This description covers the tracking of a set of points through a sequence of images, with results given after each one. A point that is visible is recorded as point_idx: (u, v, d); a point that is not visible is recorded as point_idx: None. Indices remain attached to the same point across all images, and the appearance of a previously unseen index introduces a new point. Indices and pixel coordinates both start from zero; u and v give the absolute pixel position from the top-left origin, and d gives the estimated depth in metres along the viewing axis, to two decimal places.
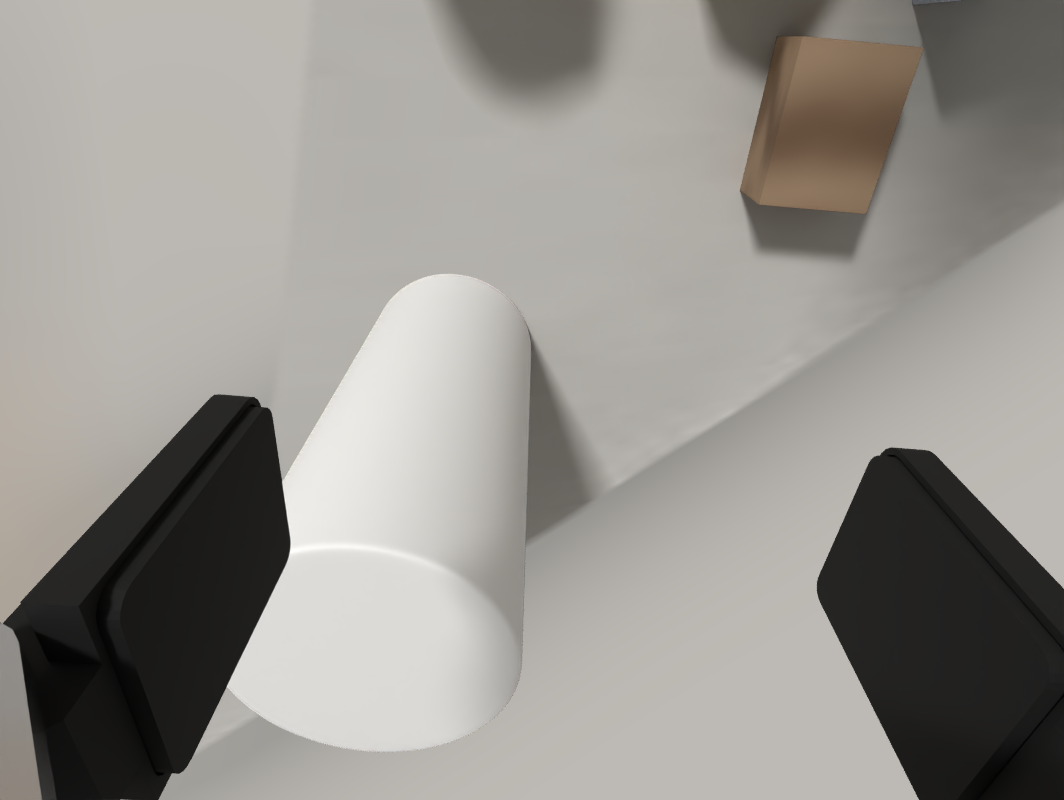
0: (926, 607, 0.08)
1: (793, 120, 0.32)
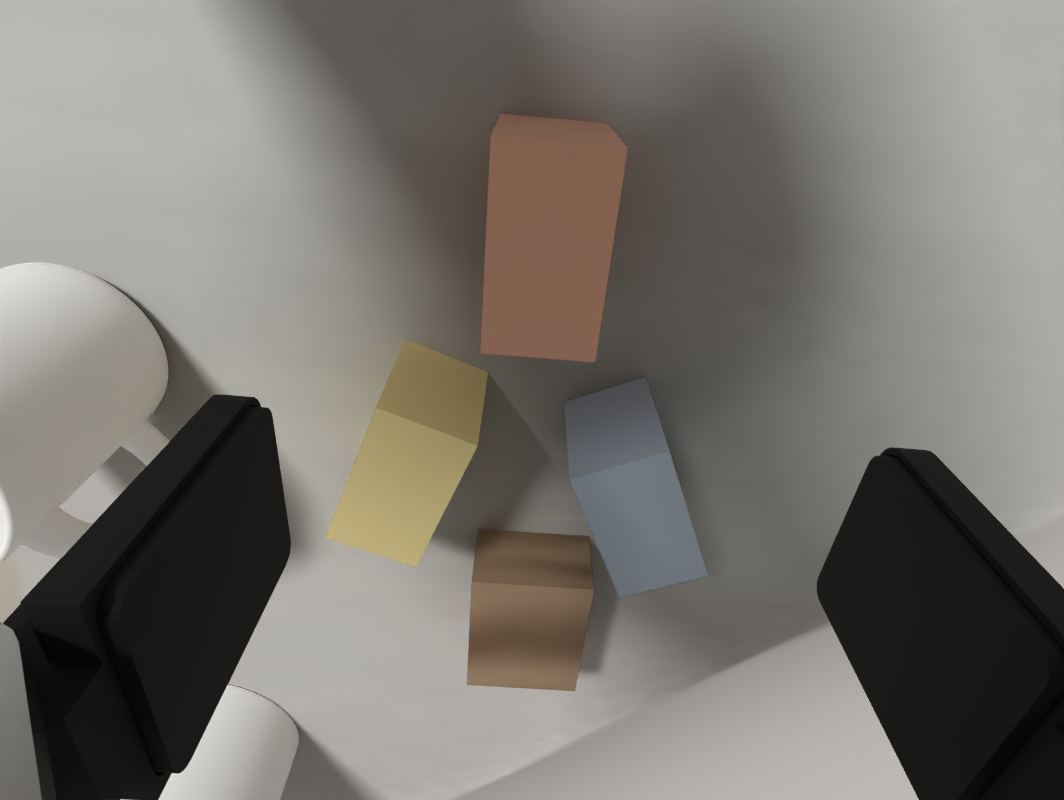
0: (926, 607, 0.08)
1: (481, 633, 0.32)
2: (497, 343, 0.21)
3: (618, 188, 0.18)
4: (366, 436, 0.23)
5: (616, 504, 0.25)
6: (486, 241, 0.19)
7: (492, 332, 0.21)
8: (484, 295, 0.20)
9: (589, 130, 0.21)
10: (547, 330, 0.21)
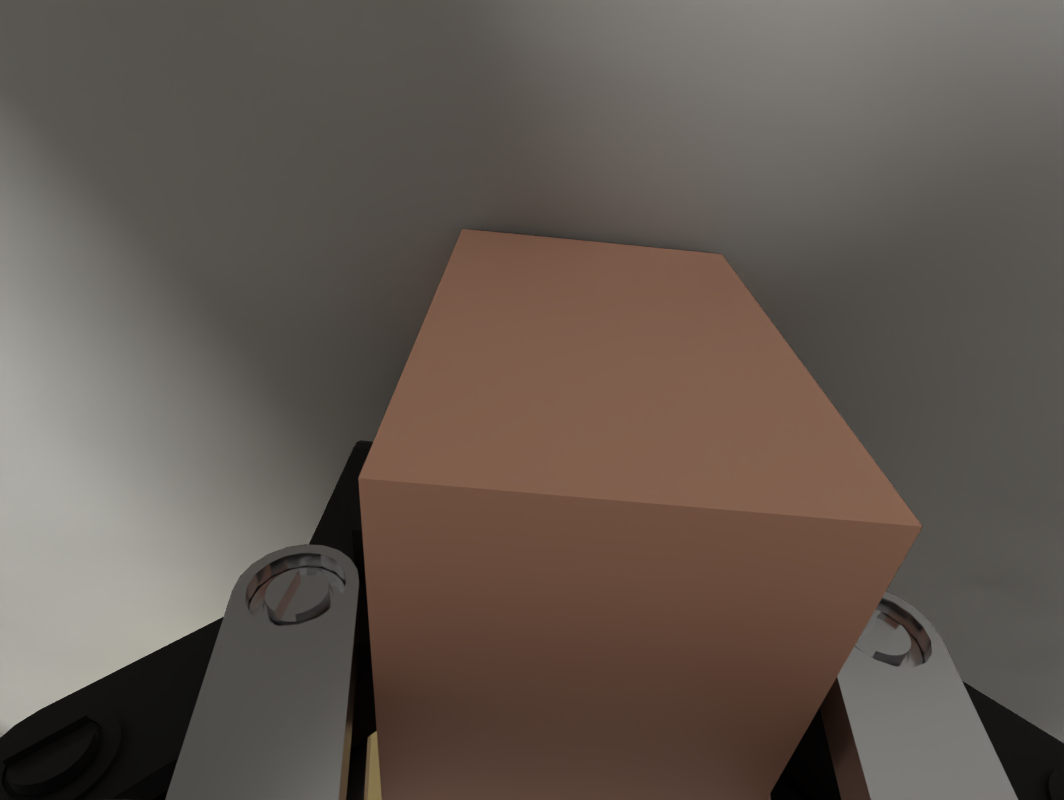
0: None
1: None
2: None
3: (850, 629, 0.05)
4: None
5: None
6: (379, 730, 0.06)
7: None
8: None
9: (701, 322, 0.07)
10: None
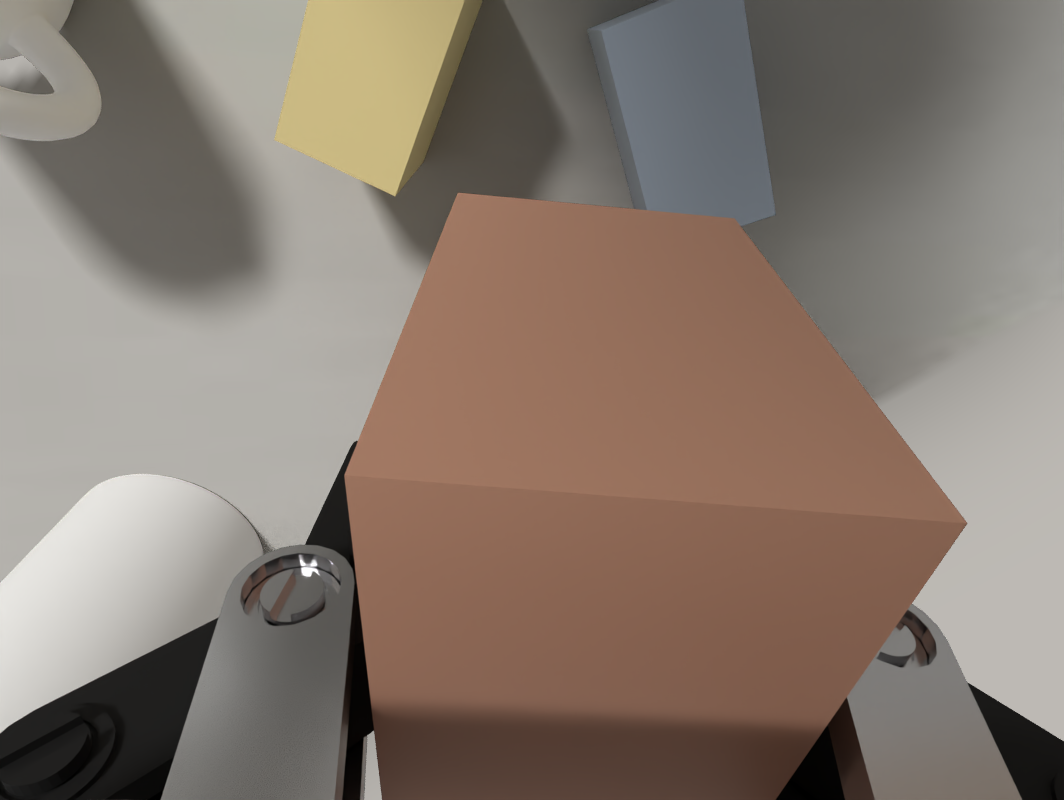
0: None
1: None
2: None
3: (879, 629, 0.05)
4: None
5: (662, 79, 0.18)
6: (377, 729, 0.06)
7: None
8: None
9: (716, 293, 0.07)
10: None
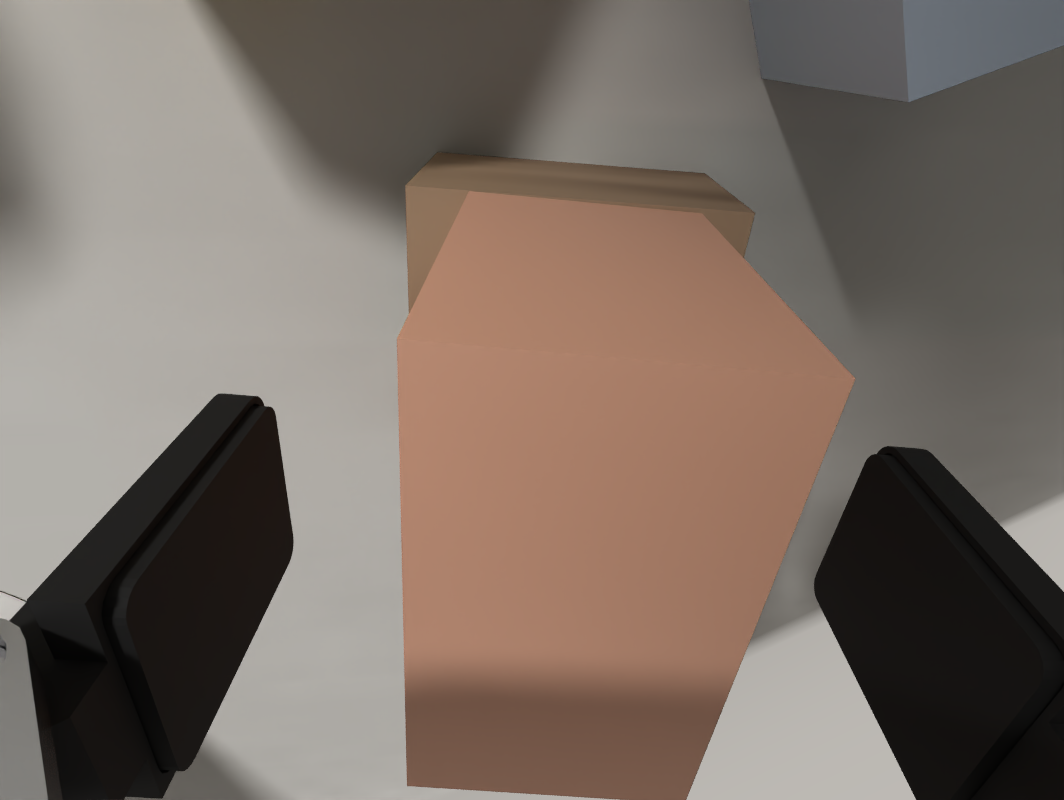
0: (922, 605, 0.08)
1: None
2: (448, 771, 0.09)
3: (803, 481, 0.06)
4: None
5: None
6: (405, 592, 0.07)
7: (434, 753, 0.08)
8: (409, 693, 0.08)
9: (681, 256, 0.08)
10: (571, 753, 0.08)
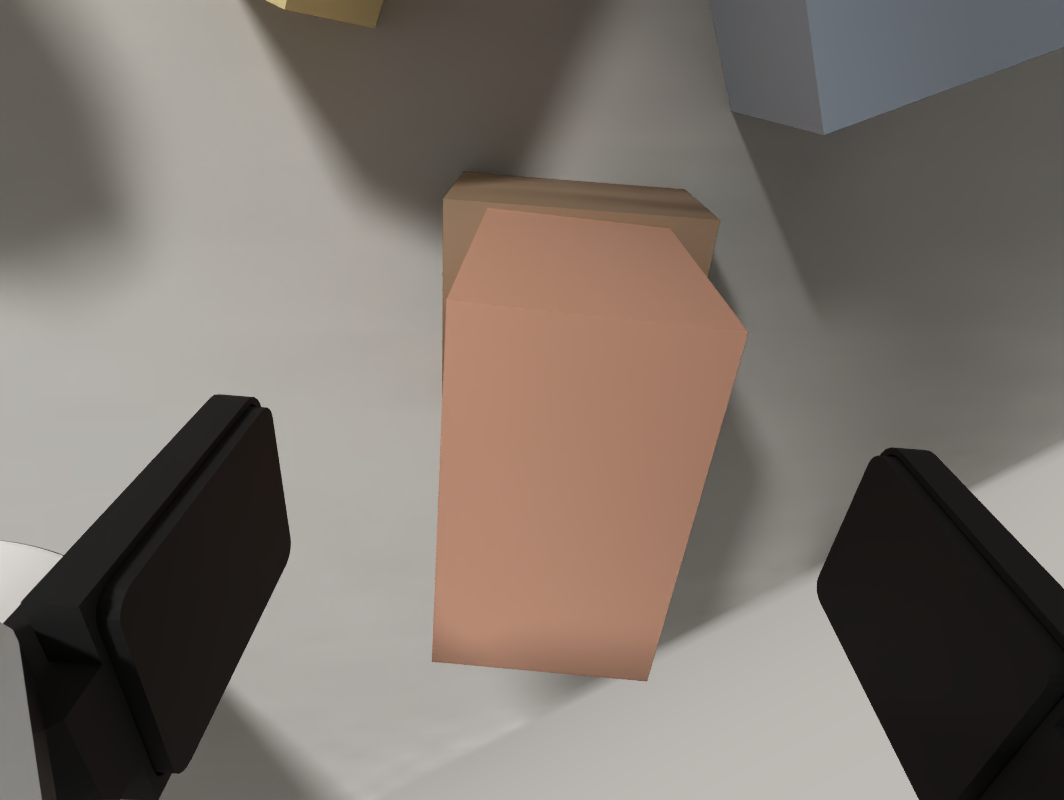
0: (926, 607, 0.08)
1: None
2: (464, 648, 0.11)
3: (719, 406, 0.09)
4: None
5: None
6: (440, 490, 0.09)
7: (454, 631, 0.11)
8: (438, 576, 0.10)
9: (647, 257, 0.11)
10: (559, 632, 0.11)
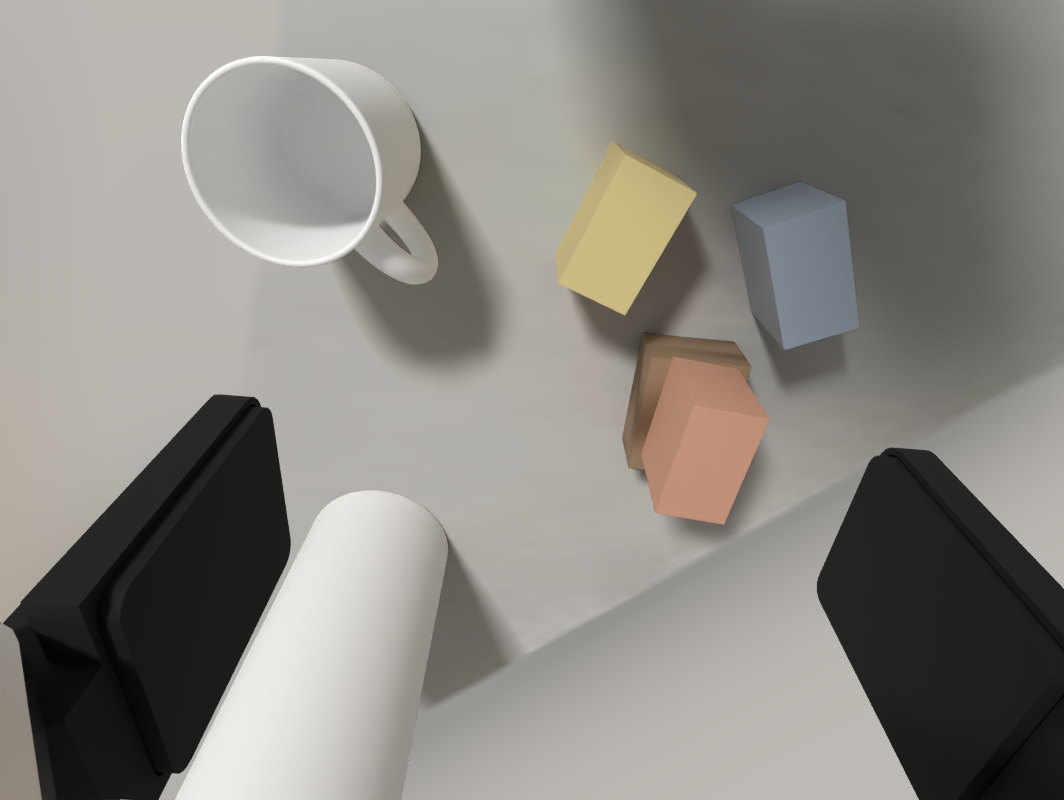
0: (926, 607, 0.08)
1: (650, 412, 0.38)
2: (667, 508, 0.34)
3: (759, 437, 0.32)
4: (612, 182, 0.30)
5: (796, 253, 0.31)
6: (676, 455, 0.33)
7: (665, 502, 0.34)
8: (667, 482, 0.33)
9: (735, 386, 0.34)
10: (699, 504, 0.34)
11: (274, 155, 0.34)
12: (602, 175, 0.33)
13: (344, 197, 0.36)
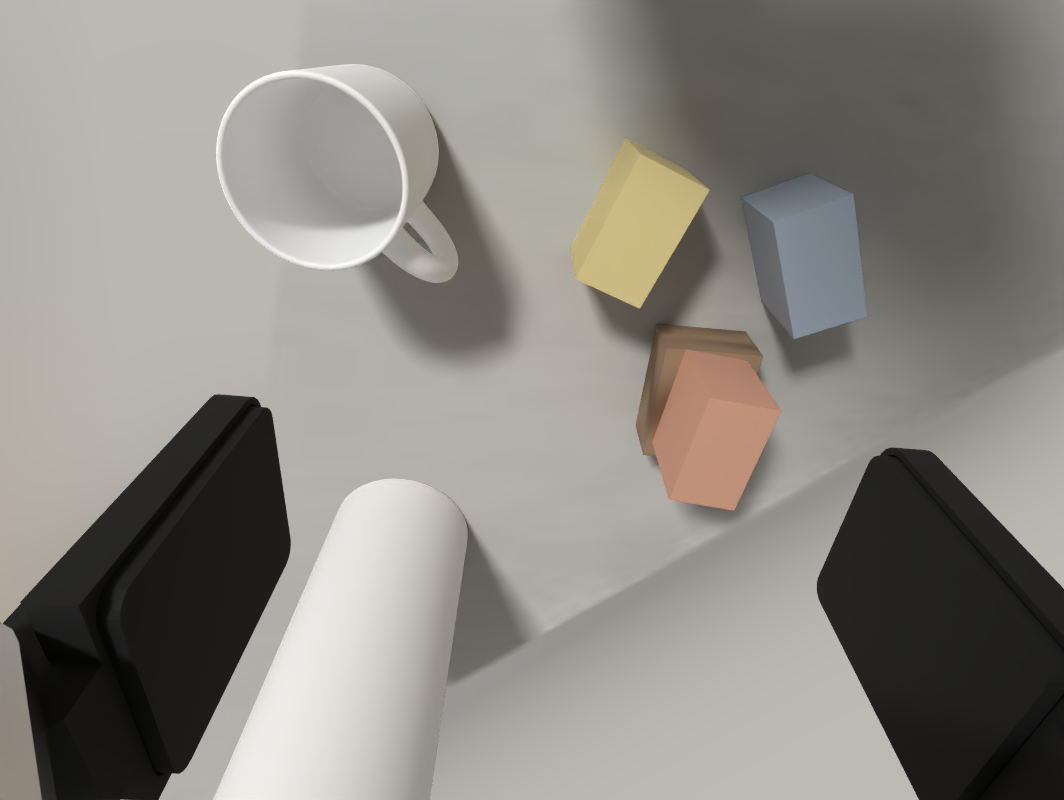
0: (926, 607, 0.08)
1: (665, 401, 0.40)
2: (680, 495, 0.36)
3: (771, 428, 0.33)
4: (627, 181, 0.31)
5: (805, 245, 0.32)
6: (691, 445, 0.34)
7: (679, 489, 0.36)
8: (681, 471, 0.35)
9: (747, 379, 0.36)
10: (711, 491, 0.36)
11: (297, 158, 0.35)
12: (616, 172, 0.34)
13: (365, 197, 0.37)
